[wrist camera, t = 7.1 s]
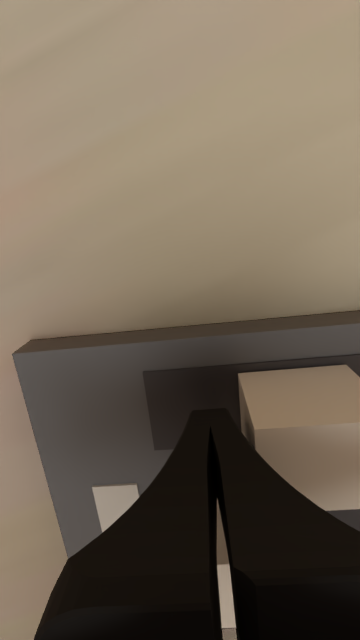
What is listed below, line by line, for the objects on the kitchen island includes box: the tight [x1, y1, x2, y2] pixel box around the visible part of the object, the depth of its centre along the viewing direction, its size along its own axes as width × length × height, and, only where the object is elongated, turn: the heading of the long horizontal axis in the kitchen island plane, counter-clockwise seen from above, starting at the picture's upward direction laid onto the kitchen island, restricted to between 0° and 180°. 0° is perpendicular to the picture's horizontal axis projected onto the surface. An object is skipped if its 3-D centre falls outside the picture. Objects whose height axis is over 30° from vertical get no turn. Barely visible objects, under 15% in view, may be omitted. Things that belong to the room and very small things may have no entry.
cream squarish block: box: [238, 365, 360, 511], centre depth 11 cm, size 3×4×4 cm
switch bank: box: [12, 311, 360, 629], centre depth 15 cm, size 16×20×2 cm
